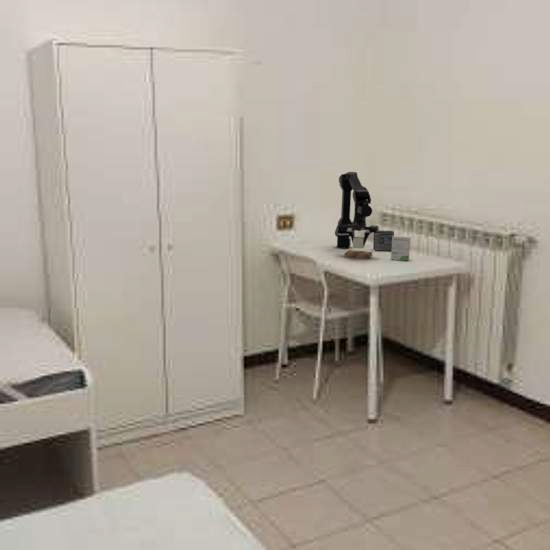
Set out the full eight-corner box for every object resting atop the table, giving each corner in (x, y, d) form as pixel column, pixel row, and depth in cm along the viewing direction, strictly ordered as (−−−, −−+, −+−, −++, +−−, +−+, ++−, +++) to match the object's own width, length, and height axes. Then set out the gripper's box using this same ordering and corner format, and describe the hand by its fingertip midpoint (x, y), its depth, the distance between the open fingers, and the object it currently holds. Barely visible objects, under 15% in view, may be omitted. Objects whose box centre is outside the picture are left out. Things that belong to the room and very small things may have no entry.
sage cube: (352, 247, 357) (353, 238, 356) (355, 246, 361) (355, 236, 360) (362, 248, 355) (362, 238, 354) (364, 246, 360) (365, 237, 359)
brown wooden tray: (344, 257, 357) (344, 252, 356) (349, 254, 366) (349, 249, 365) (367, 259, 353) (368, 254, 352) (372, 256, 362) (372, 251, 361)
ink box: (390, 259, 352) (391, 236, 350) (392, 258, 357) (393, 235, 355) (407, 261, 350) (409, 237, 347) (409, 259, 354) (410, 236, 352)
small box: (392, 249, 381) (393, 230, 379) (393, 251, 375) (394, 232, 373) (373, 249, 382) (373, 229, 380) (373, 251, 376) (374, 231, 374)
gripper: (337, 215, 350) (336, 246, 354) (375, 217, 344) (373, 248, 348) (343, 212, 361) (342, 242, 364) (379, 214, 355) (378, 245, 358)
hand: (358, 245), depth 358 cm, fingers closed on sage cube, 5 cm apart
